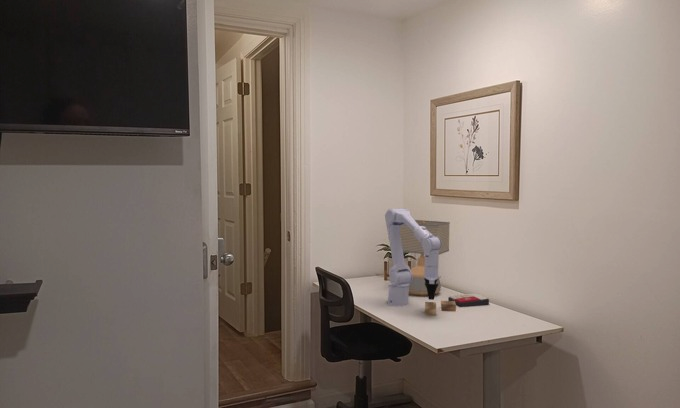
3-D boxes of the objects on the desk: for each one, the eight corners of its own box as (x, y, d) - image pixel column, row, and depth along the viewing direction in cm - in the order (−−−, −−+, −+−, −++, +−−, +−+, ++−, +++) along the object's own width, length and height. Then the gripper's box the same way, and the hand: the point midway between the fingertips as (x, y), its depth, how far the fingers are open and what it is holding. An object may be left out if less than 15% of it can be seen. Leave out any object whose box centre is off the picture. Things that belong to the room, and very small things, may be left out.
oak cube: (425, 314, 218) (425, 304, 218) (424, 312, 223) (425, 301, 222) (436, 315, 218) (436, 305, 217) (435, 312, 222) (435, 302, 222)
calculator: (447, 295, 241) (476, 291, 245) (448, 304, 241) (476, 300, 245) (459, 301, 230) (489, 297, 235) (460, 310, 231) (489, 306, 235)
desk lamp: (449, 292, 261) (450, 220, 259) (434, 300, 245) (436, 223, 243) (409, 286, 273) (411, 217, 270) (393, 293, 257) (394, 220, 254)
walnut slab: (441, 310, 224) (441, 304, 224) (440, 307, 230) (441, 300, 230) (455, 311, 224) (455, 304, 223) (454, 307, 229) (454, 301, 229)
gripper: (442, 269, 211) (441, 301, 212) (440, 262, 225) (439, 293, 226) (424, 268, 212) (423, 301, 213) (423, 262, 226) (423, 292, 227)
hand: (430, 297), depth 220 cm, fingers open, 7 cm apart
